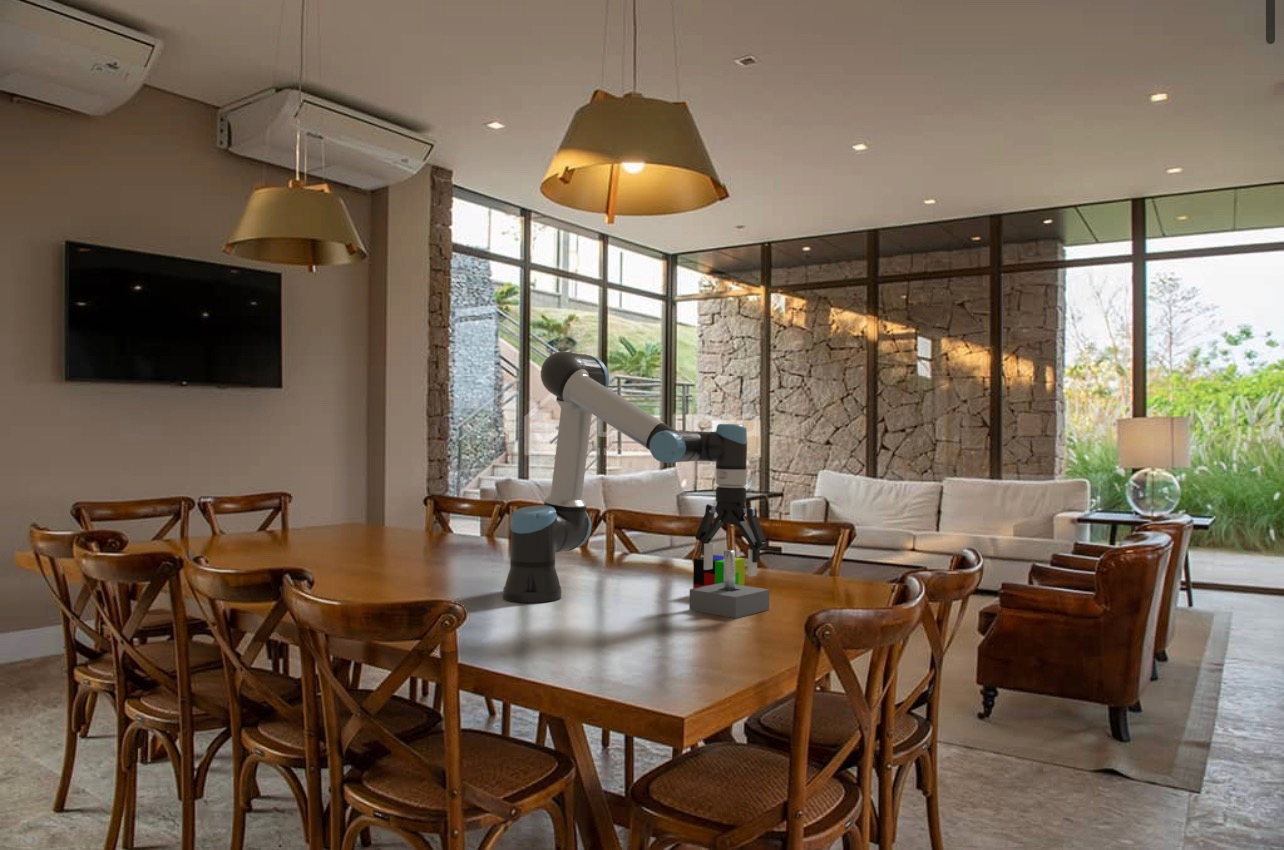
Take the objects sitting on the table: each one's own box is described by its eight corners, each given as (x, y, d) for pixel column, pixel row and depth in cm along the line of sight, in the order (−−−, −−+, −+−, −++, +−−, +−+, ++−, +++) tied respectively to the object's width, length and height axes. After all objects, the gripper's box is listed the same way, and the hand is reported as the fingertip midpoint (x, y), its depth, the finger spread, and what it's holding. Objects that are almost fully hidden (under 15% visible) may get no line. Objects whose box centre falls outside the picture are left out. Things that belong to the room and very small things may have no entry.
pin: (721, 603, 214) (721, 550, 214) (728, 602, 216) (728, 549, 216) (730, 605, 212) (730, 551, 212) (737, 603, 214) (737, 550, 214)
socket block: (689, 609, 213) (689, 589, 213) (723, 601, 224) (723, 582, 224) (735, 618, 204) (735, 597, 204) (769, 609, 214) (769, 589, 214)
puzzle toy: (712, 591, 239) (713, 554, 239) (744, 595, 233) (744, 558, 234) (693, 596, 231) (693, 558, 231) (725, 601, 225) (726, 562, 225)
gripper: (682, 484, 220) (681, 568, 220) (764, 489, 203) (763, 580, 203) (700, 483, 225) (699, 565, 225) (782, 488, 209) (780, 576, 208)
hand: (729, 572), depth 214 cm, fingers open, 13 cm apart
